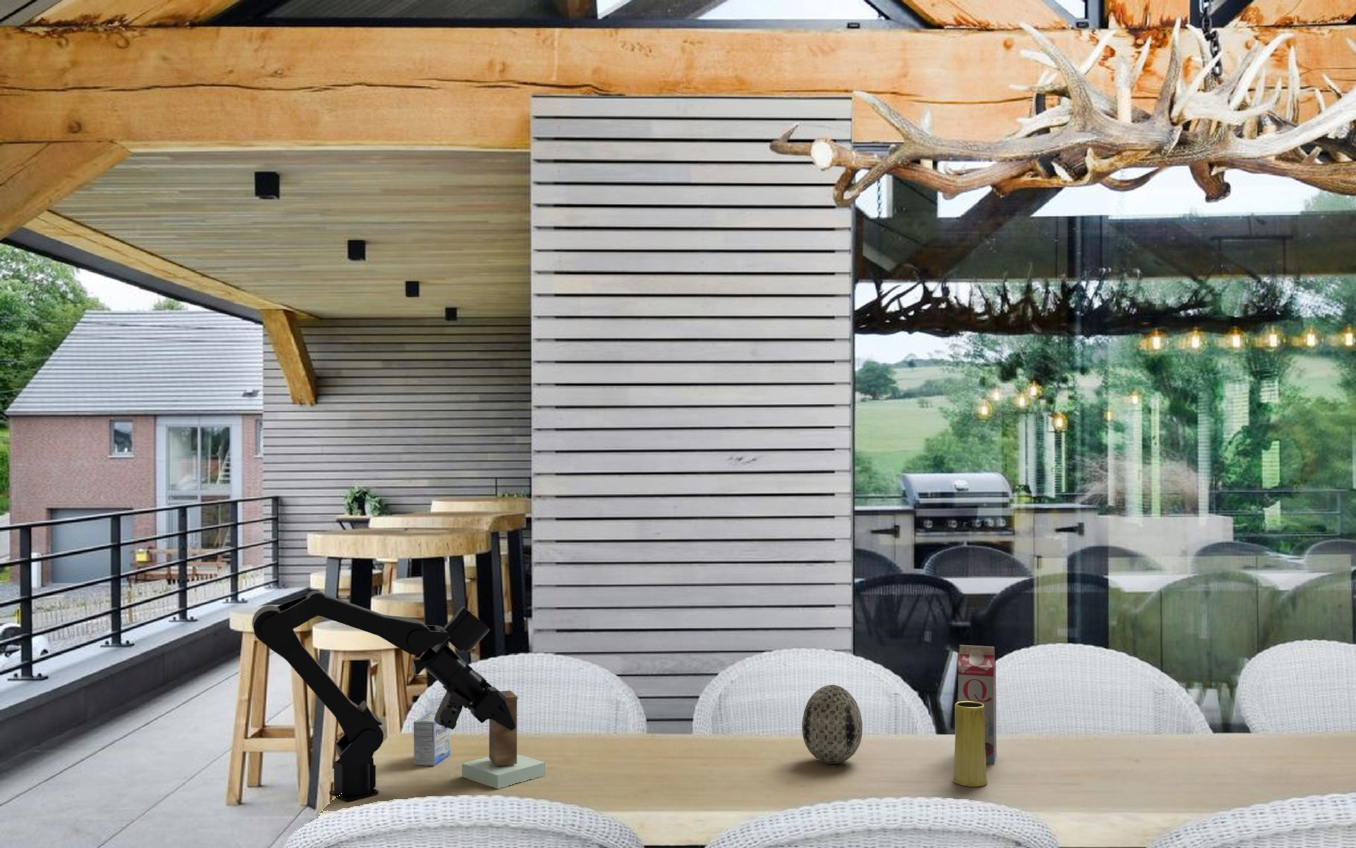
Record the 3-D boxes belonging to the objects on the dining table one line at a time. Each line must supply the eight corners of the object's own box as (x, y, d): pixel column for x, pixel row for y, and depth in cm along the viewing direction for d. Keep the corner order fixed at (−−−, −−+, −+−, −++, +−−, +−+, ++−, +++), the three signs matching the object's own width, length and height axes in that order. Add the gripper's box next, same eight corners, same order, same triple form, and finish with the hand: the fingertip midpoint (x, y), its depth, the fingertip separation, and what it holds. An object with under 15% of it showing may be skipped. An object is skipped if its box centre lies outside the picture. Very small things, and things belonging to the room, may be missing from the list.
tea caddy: (495, 766, 217) (495, 698, 217) (488, 758, 222) (488, 692, 222) (517, 764, 218) (517, 696, 218) (510, 756, 223) (510, 690, 224)
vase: (962, 775, 219) (961, 699, 219) (993, 781, 215) (992, 703, 215) (947, 783, 214) (946, 705, 214) (978, 789, 210) (978, 710, 210)
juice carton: (994, 764, 226) (993, 649, 226) (958, 761, 228) (957, 648, 228) (996, 754, 232) (995, 643, 232) (962, 752, 234) (961, 642, 234)
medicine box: (434, 766, 227) (434, 722, 227) (413, 765, 228) (413, 721, 228) (450, 755, 235) (450, 712, 235) (429, 754, 235) (429, 711, 235)
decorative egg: (790, 759, 230) (790, 683, 230) (839, 751, 235) (839, 676, 235) (824, 775, 220) (823, 695, 220) (875, 766, 225) (874, 688, 225)
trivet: (497, 789, 212) (497, 775, 212) (462, 776, 220) (462, 763, 220) (545, 775, 220) (544, 762, 220) (508, 764, 228) (508, 751, 228)
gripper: (412, 694, 223) (469, 746, 227) (429, 716, 206) (491, 772, 210) (453, 649, 226) (509, 702, 230) (474, 667, 209) (534, 723, 213)
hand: (510, 725), depth 221 cm, fingers closed on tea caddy, 5 cm apart
